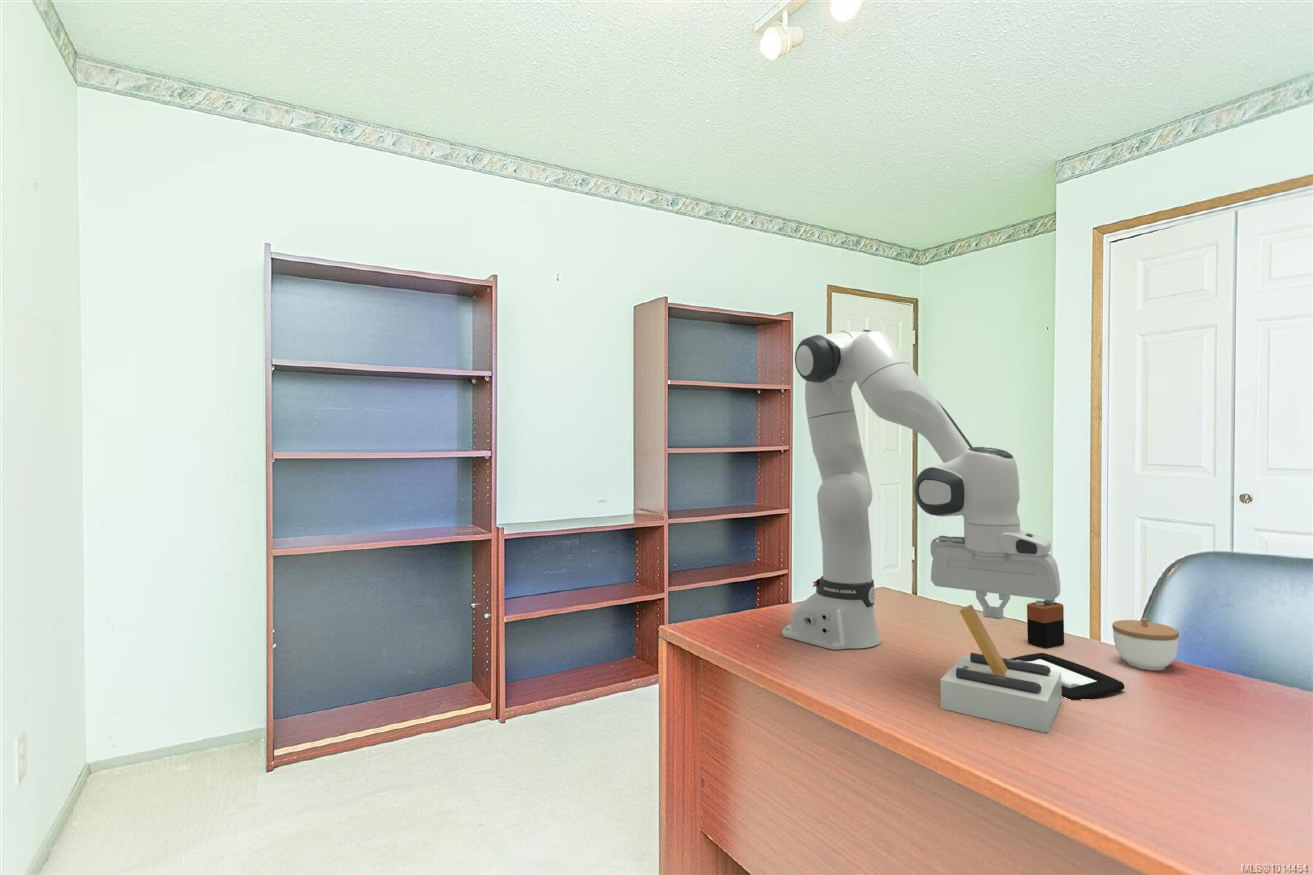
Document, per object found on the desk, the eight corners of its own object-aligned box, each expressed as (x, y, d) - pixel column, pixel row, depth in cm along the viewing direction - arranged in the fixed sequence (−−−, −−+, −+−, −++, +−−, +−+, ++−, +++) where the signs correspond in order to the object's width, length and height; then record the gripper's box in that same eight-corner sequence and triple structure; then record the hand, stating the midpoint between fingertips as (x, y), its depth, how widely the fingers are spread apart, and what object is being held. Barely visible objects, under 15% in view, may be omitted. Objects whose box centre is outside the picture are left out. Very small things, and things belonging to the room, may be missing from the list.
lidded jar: (1138, 654, 138) (1137, 610, 138) (1193, 670, 128) (1191, 623, 128) (1100, 660, 135) (1099, 615, 135) (1153, 677, 125) (1152, 628, 125)
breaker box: (941, 708, 112) (940, 670, 112) (964, 680, 125) (963, 646, 125) (1048, 733, 102) (1047, 691, 102) (1061, 700, 115) (1060, 663, 115)
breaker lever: (995, 676, 113) (959, 610, 116) (998, 671, 115) (963, 607, 119) (1004, 674, 112) (967, 607, 115) (1007, 669, 114) (971, 604, 118)
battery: (1065, 644, 145) (1064, 600, 145) (1044, 649, 142) (1043, 603, 142) (1047, 639, 149) (1046, 596, 149) (1026, 643, 146) (1025, 599, 146)
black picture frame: (986, 658, 133) (1042, 645, 136) (988, 672, 133) (1043, 659, 136) (1070, 694, 114) (1132, 678, 117) (1072, 711, 114) (1134, 694, 117)
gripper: (925, 536, 118) (926, 612, 118) (1055, 546, 106) (1057, 631, 105) (935, 532, 123) (936, 605, 123) (1061, 541, 110) (1062, 622, 110)
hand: (993, 617), depth 114 cm, fingers closed
